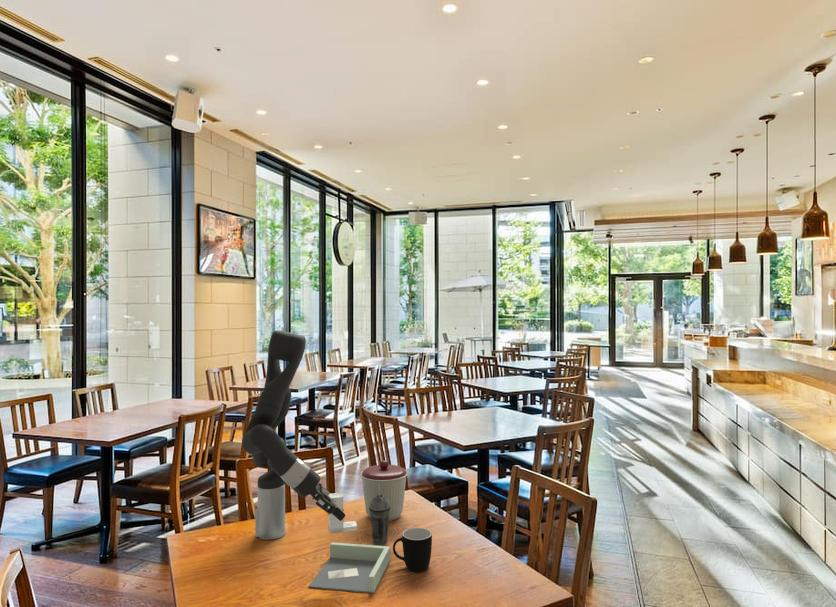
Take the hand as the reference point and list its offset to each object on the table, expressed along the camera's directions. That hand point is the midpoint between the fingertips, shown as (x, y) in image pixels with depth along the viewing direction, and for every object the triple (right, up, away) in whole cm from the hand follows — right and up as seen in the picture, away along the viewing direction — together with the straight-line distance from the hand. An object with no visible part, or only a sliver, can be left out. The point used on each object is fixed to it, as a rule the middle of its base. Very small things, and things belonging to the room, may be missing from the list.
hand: (342, 515), depth 154 cm
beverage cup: (+10, -18, +21) cm, 30 cm away
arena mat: (+3, -18, 0) cm, 18 cm away
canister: (+10, -19, +44) cm, 49 cm away
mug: (+21, -18, +4) cm, 27 cm away
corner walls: (+3, -18, 0) cm, 18 cm away
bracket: (0, -4, 0) cm, 4 cm away
